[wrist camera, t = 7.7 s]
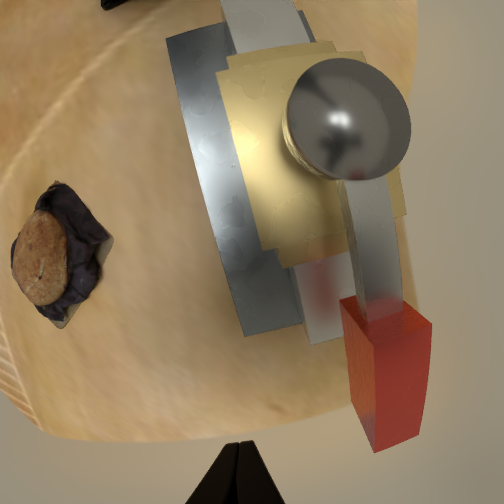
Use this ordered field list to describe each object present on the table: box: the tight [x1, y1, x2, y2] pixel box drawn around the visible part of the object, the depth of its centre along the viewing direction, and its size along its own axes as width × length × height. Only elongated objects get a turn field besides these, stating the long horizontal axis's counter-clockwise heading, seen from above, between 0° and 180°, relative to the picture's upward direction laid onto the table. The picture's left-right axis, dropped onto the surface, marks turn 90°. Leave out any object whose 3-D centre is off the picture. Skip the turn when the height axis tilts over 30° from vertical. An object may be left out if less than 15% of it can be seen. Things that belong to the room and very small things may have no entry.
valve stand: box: [166, 0, 406, 345], centre depth 12 cm, size 9×20×9 cm, turn 14°
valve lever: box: [282, 58, 432, 453], centre depth 8 cm, size 12×3×3 cm, turn 15°
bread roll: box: [11, 181, 114, 329], centre depth 17 cm, size 11×8×4 cm
